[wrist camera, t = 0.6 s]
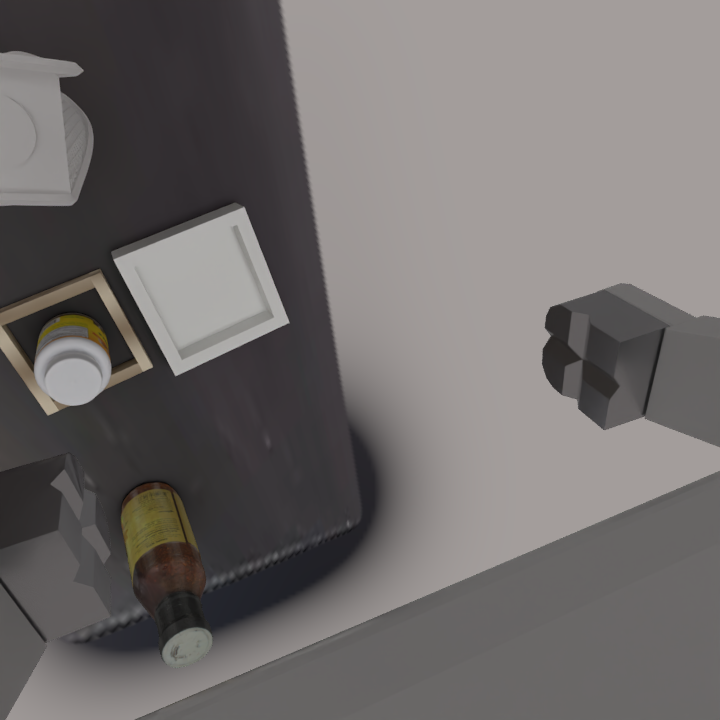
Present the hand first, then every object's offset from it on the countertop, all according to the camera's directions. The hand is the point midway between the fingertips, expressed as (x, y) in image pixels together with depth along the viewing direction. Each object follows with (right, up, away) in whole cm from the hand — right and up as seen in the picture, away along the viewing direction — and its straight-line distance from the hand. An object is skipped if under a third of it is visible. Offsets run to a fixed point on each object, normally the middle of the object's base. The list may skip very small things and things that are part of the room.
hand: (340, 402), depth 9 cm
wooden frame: (-26, +3, +42) cm, 49 cm away
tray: (-15, +8, +45) cm, 48 cm away
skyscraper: (-25, +19, +35) cm, 48 cm away
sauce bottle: (-22, -15, +51) cm, 58 cm away
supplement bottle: (-26, +3, +42) cm, 50 cm away
